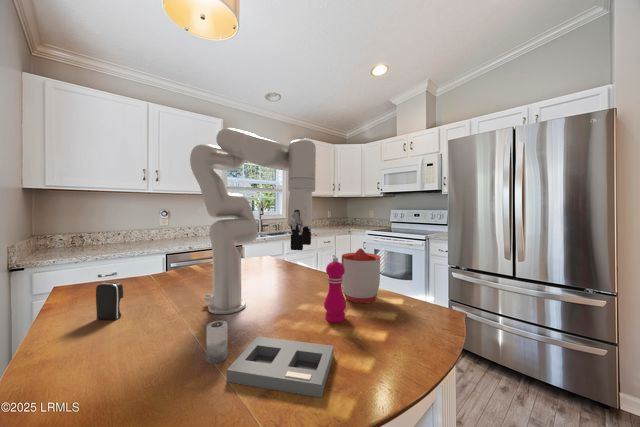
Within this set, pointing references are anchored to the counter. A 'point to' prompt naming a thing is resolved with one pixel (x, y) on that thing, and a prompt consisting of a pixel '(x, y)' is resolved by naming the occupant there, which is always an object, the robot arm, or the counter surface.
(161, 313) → the counter surface
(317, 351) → the block
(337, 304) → the pepper mill
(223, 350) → the bushing
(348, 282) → the citrus juicer
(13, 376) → the counter surface
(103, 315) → the battery charger
